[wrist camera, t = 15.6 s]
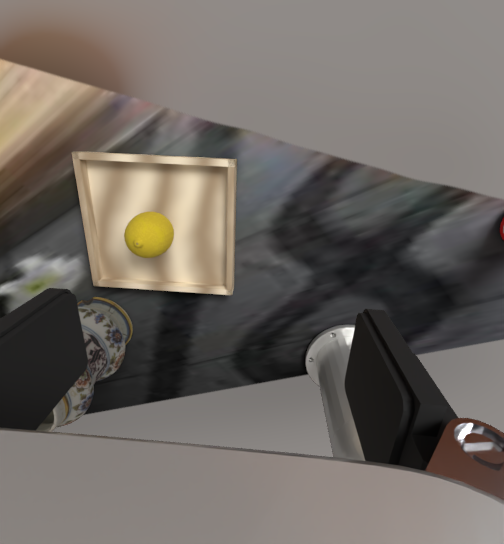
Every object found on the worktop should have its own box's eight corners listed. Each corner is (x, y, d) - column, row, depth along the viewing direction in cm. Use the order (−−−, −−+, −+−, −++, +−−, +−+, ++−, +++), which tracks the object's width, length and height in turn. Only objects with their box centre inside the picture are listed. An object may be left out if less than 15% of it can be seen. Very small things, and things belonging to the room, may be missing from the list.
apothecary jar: (113, 279, 47) (26, 352, 31) (153, 342, 51) (95, 437, 35) (50, 305, 50) (-61, 386, 33) (93, 363, 54) (12, 462, 37)
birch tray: (237, 159, 40) (234, 160, 37) (234, 287, 47) (231, 295, 44) (83, 151, 41) (71, 152, 38) (102, 279, 47) (93, 285, 45)
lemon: (189, 225, 42) (170, 242, 35) (165, 253, 44) (143, 276, 37) (155, 197, 41) (129, 209, 34) (133, 228, 43) (103, 245, 36)
